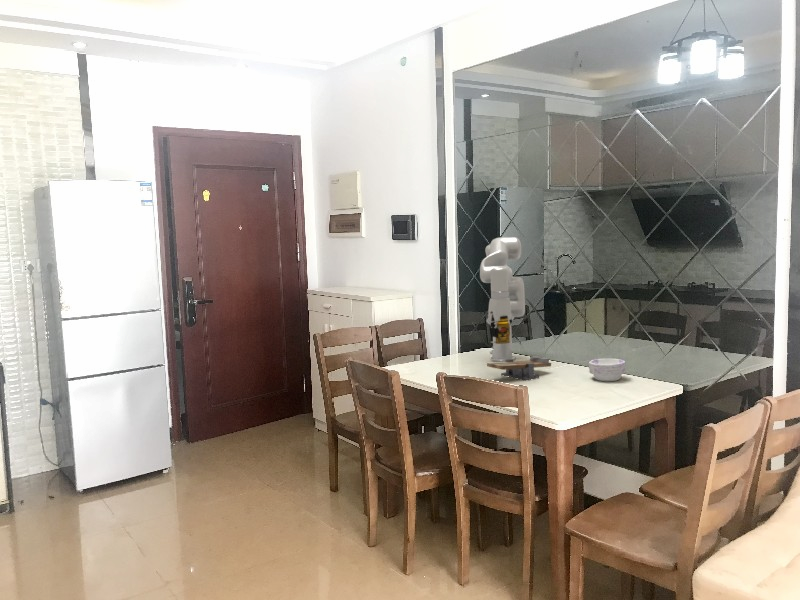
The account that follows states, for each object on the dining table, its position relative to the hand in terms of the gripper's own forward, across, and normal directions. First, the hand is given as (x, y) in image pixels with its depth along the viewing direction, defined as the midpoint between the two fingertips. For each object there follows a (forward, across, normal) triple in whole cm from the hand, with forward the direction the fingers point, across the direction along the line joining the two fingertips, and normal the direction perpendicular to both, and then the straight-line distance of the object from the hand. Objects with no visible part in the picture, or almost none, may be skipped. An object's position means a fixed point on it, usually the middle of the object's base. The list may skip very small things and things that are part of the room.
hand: (501, 335), depth 287 cm
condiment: (+3, 0, 0) cm, 3 cm away
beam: (+15, -11, 0) cm, 18 cm away
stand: (+20, -11, 0) cm, 23 cm away
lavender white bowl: (+20, -34, +30) cm, 49 cm away
